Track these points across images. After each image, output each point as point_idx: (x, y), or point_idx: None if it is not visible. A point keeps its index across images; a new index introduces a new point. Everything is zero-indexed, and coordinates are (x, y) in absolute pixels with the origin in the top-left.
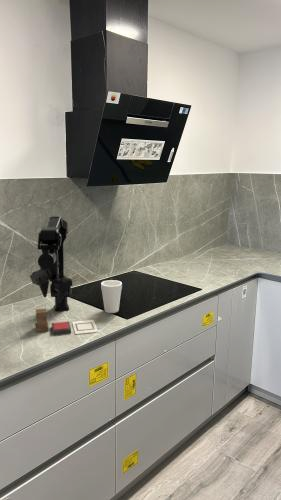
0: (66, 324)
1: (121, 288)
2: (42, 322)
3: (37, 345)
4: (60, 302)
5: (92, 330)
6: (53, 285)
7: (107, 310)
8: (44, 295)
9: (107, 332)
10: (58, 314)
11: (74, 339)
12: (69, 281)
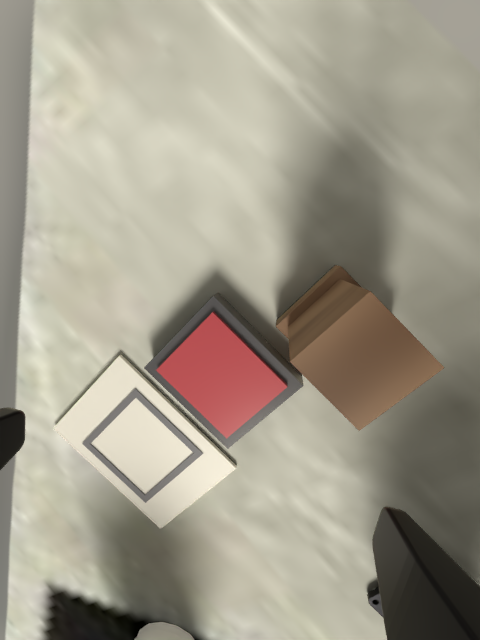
0: (203, 404)
1: None
2: (312, 311)
3: (196, 131)
4: (11, 430)
5: (80, 426)
6: None
7: (163, 635)
8: (395, 540)
9: None
10: None
11: (87, 306)
12: None
